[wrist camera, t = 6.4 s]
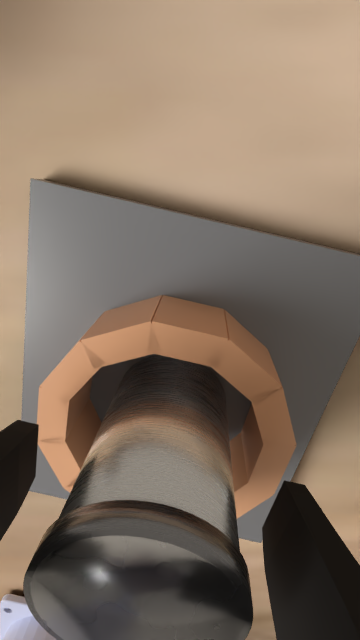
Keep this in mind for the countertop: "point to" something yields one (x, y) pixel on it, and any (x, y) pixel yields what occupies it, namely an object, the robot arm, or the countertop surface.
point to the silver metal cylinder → (149, 520)
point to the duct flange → (180, 329)
